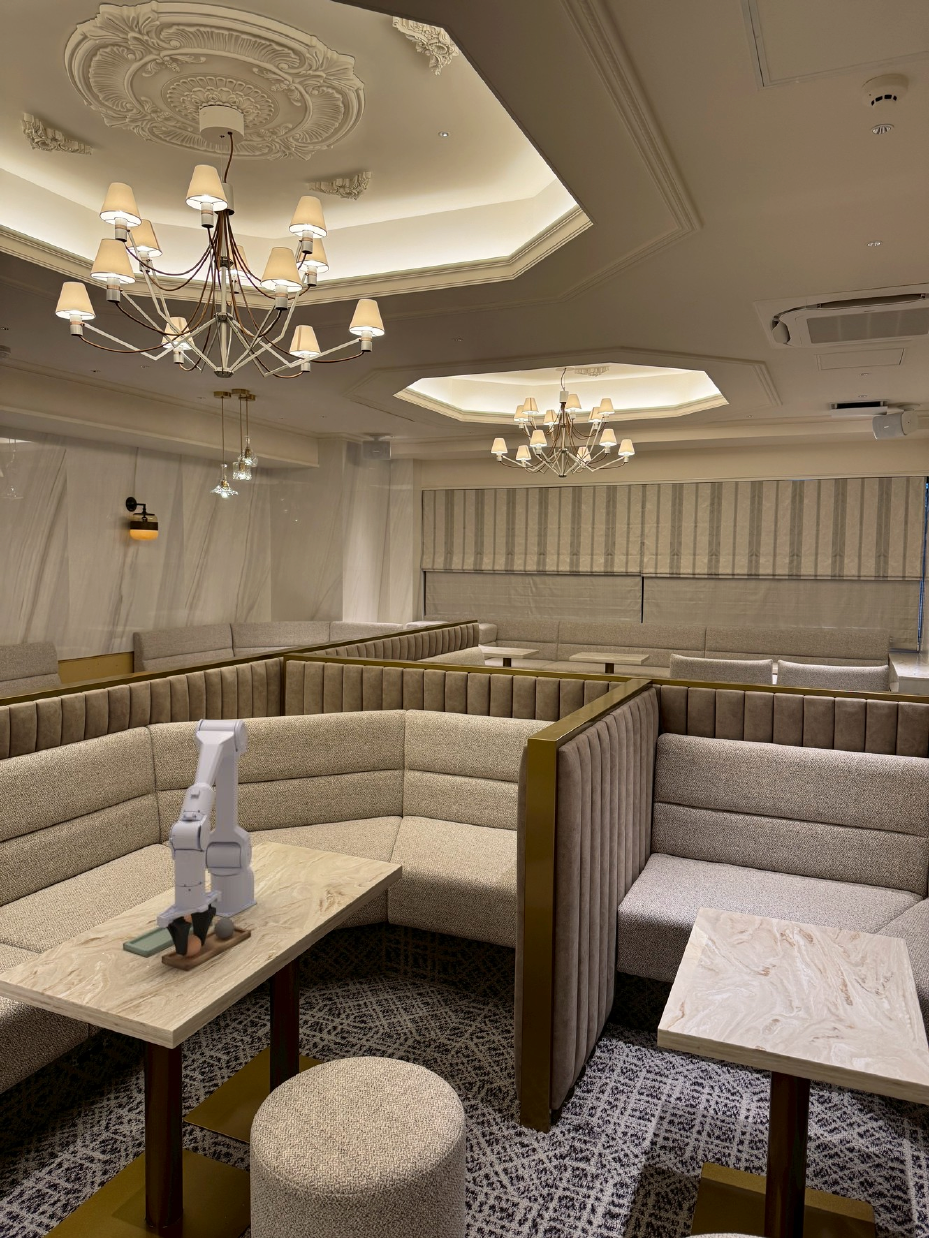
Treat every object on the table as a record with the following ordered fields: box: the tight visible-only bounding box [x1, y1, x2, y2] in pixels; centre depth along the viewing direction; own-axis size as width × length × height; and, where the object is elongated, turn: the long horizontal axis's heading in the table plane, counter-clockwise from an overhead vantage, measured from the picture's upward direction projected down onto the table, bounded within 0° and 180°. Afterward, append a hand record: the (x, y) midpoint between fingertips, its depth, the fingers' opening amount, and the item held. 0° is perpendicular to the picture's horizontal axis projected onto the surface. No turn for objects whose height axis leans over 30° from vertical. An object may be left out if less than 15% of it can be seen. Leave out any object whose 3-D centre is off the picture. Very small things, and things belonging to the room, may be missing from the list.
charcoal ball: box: [213, 917, 235, 939], centre depth 166 cm, size 4×4×4 cm
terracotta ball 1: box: [184, 914, 193, 925], centre depth 171 cm, size 4×4×4 cm
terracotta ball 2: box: [184, 935, 201, 957], centre depth 158 cm, size 4×4×4 cm
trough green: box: [122, 920, 213, 958], centre depth 168 cm, size 17×7×1 cm, turn 152°
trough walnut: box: [161, 925, 252, 972], centre depth 162 cm, size 17×7×1 cm, turn 152°
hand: (190, 949), depth 158 cm, fingers closed on terracotta ball 2, 4 cm apart
